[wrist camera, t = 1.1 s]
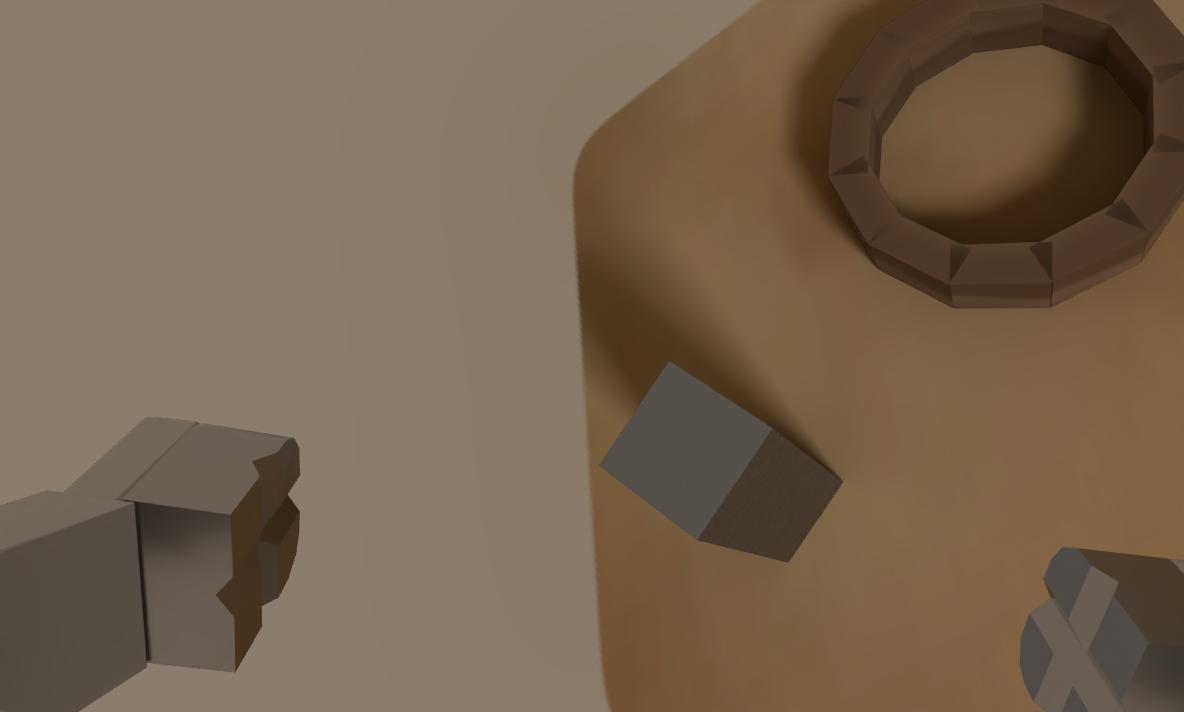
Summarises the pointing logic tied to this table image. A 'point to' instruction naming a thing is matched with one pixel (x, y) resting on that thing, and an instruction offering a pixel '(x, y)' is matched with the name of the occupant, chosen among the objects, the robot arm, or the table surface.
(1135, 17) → the walnut ring
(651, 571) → the table surface
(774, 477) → the metal peg
